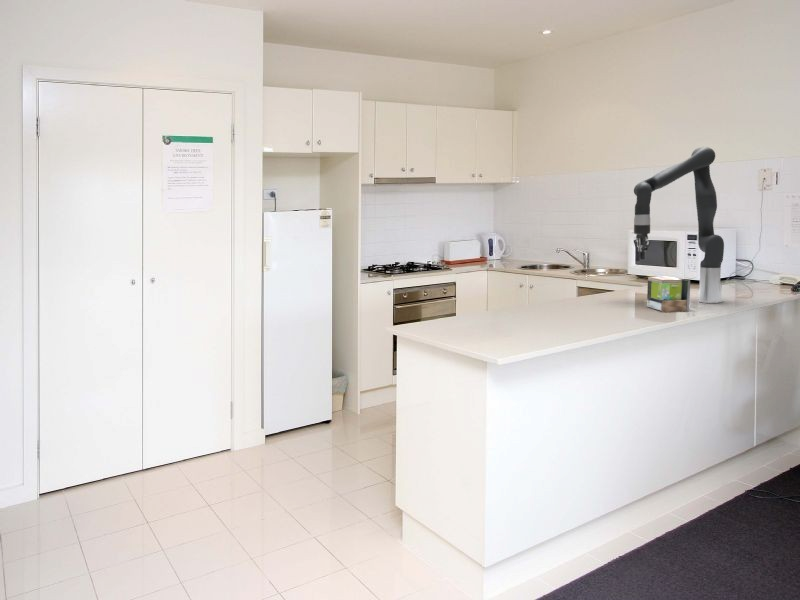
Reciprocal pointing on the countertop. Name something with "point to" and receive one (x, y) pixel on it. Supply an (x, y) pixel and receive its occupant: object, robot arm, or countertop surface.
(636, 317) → the countertop surface
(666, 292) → the tea box
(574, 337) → the countertop surface
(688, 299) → the bookend
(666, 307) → the wooden block
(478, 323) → the countertop surface
